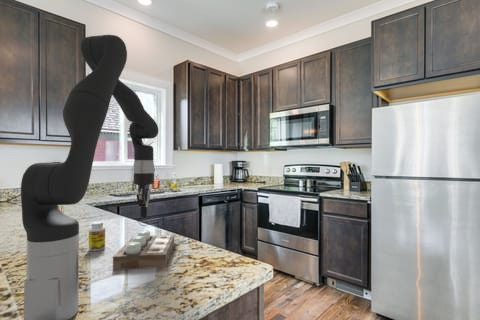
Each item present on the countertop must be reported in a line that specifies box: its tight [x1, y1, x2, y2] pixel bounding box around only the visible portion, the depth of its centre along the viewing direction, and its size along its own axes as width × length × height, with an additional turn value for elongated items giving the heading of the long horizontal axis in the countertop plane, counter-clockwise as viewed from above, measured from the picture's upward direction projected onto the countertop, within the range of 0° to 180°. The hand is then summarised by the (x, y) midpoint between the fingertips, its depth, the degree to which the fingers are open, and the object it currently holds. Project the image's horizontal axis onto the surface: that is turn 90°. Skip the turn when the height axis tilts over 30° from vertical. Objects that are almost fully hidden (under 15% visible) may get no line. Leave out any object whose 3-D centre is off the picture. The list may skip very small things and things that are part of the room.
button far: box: [137, 230, 151, 241], centre depth 101 cm, size 5×5×4 cm
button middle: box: [131, 235, 146, 247], centre depth 94 cm, size 5×5×4 cm
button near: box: [125, 242, 141, 255], centre depth 86 cm, size 5×5×4 cm
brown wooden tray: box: [112, 234, 175, 271], centre depth 94 cm, size 23×16×4 cm
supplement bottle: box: [88, 221, 106, 252], centre depth 101 cm, size 6×6×10 cm
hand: (144, 216), depth 101 cm, fingers closed
